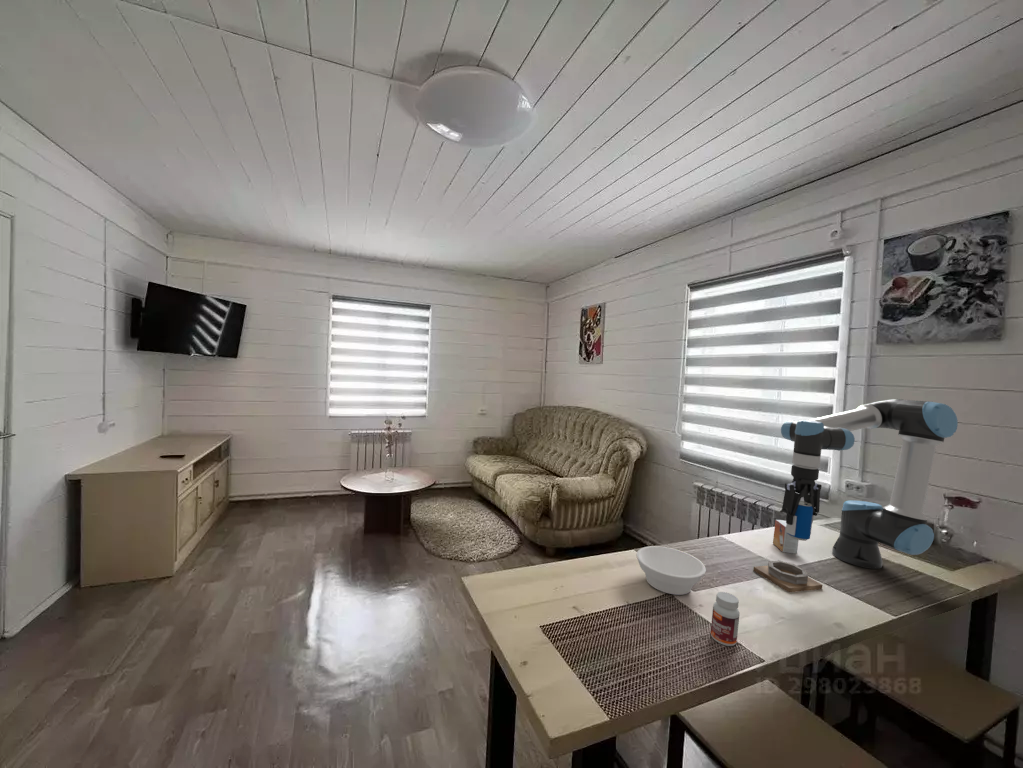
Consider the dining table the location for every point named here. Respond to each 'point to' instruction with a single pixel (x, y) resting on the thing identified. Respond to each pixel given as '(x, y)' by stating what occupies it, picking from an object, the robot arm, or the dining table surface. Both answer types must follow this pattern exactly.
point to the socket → (787, 576)
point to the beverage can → (803, 521)
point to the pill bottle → (725, 619)
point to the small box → (784, 538)
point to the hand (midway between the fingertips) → (798, 533)
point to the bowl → (670, 569)
